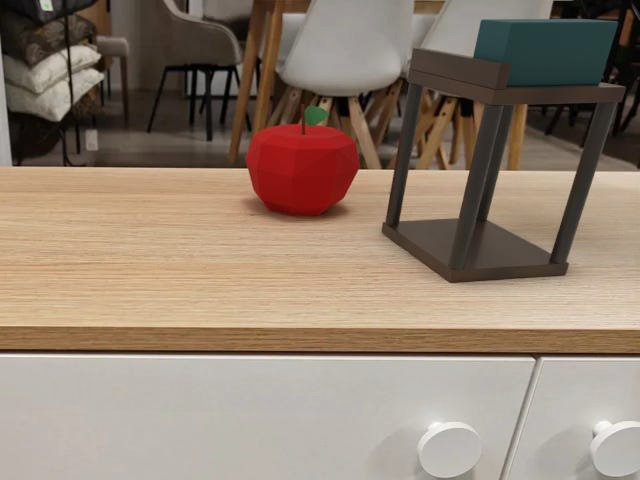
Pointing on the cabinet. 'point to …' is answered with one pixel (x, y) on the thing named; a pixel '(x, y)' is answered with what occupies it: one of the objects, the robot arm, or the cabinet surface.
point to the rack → (489, 171)
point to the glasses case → (547, 49)
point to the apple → (302, 165)
